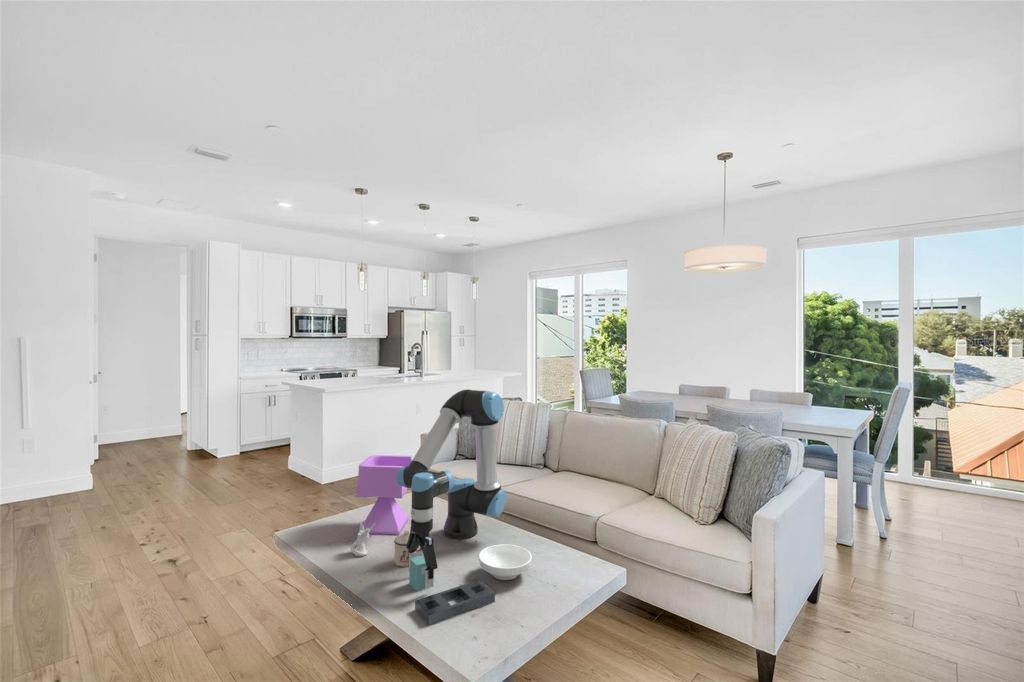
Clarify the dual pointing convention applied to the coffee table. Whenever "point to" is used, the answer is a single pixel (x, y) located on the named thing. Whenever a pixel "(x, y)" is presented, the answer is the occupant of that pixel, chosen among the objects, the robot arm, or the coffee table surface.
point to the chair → (383, 492)
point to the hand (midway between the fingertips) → (420, 578)
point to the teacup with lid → (402, 550)
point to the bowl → (505, 560)
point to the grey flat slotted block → (440, 609)
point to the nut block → (417, 572)
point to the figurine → (361, 541)
